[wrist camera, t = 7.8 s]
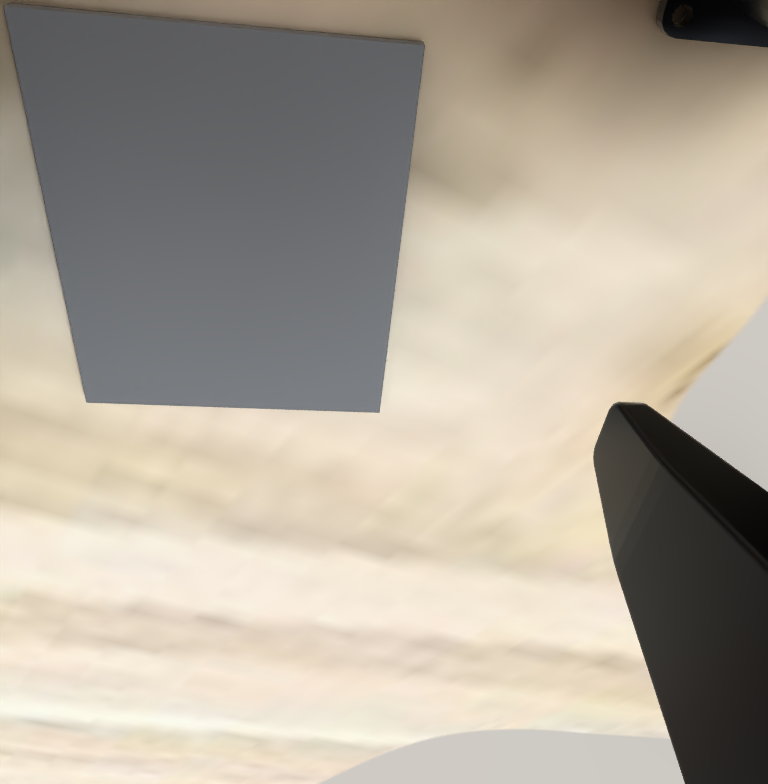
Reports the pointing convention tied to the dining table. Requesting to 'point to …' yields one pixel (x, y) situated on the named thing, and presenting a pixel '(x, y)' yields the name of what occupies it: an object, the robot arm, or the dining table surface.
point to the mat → (221, 203)
